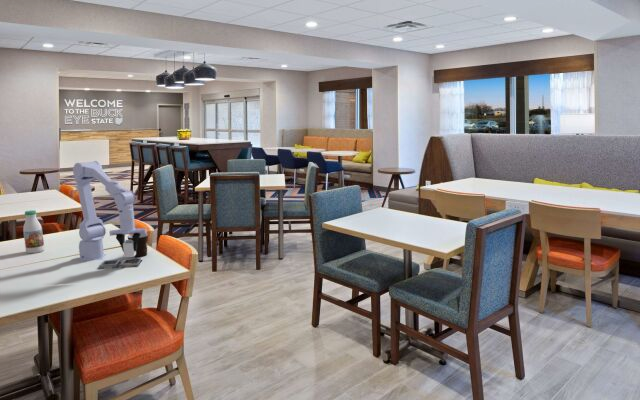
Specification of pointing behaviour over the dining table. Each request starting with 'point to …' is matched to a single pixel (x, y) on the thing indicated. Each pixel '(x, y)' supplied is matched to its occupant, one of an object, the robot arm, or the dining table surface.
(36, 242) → the milk bottle
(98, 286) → the dining table surface
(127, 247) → the plug
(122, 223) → the robot arm
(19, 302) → the dining table surface
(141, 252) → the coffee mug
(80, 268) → the dining table surface
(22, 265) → the dining table surface
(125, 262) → the panel
